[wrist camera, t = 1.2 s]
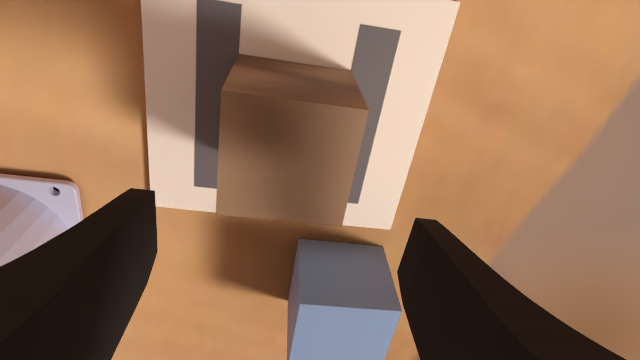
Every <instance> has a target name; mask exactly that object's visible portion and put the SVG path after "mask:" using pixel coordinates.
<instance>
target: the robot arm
mask: <svg viewBox="0 0 640 360" xmlns="http://www.w3.org/2000/svg"><path fill="white" fill-rule="evenodd" d="M53 187H55V188H57V189H59V191H60V192H58V191H56V190H54V189H53ZM156 254H157V227H156V203H155V191H153V190H143V189H134V188H131V189H129V190H127V191H126V192H124V193H122V194H121V195H119V196H118V197H116V198H115V199H113V200H112V201H111V202H109V203H108V204H106V205H105V206H103V207H102V208H100V209H99V210H97V211H96V212H94V213H93V214H91V215H89V216H88V217H86V218H85V219H83V214H82V207H81V200H80V194H79V189H78V187H77V185H76V184H74V183H73V182H71V181H67V180H57V179H48V178H38V177H29V176H19V175H10V174H0V360H111V358H112V356H113V354H114V352H115V350H116V348H117V346H118V344H119V342H120V340H121V338H122V336H123V333H124V331H125V329H126V327H127V325H128V323H129V321H130V319H131V317H132V315H133V313H134V310H135V308H136V306H137V304H138V302H139V300H140V298H141V296H142V294H143V291H144V289H145V287H146V285H147V282H148V279H149V276H150V273H151V270H152V267H153V264H154V261H155V257H156ZM397 273H398V279H399V286H400V292H401V297H402V302H403V306H404V309H405V313H406V316H407V319H408V322H409V326H410V329H411V332H412V335H413V338H414V341H415V344H416V348H417V351H418V354H419V357H420V360H626V359H624V358H622V357H620V356H619V355H617V354H615V353H613V352H611V351H610V350H608V349H606V348H604V347H603V346H601V345H599V344H598V343H596V342H594V341H593V340H591V339H589V338H587V337H586V336H584V335H583V334H581V333H579V332H578V331H576V330H574V329H573V328H571V327H570V326H568V325H567V324H565V323H564V322H562V321H560V320H559V319H557V318H556V317H555V316H553V315H551V314H550V313H549V312H547V311H546V310H544V309H543V308H542V307H540V306H539V305H537V304H536V303H534V302H533V301H532V300H530V299H529V298H528V297H526V296H525V295H524V294H522V293H521V292H520V291H519V290H517V289H516V288H515V287H514V286H512V285H511V284H510V283H509V282H507V281H506V280H505V279H504V278H502V277H501V276H500V275H499V274H497V273H496V272H495V271H494V270H493V269H492V268H490V267H489V266H488V265H487V264H486V263H485V262H484V261H482V260H481V259H480V258H479V257H478V256H477V255H476V254H475V253H473V252H472V251H471V250H470V249H469V248H468V247H467V246H466V245H464V244H463V243H462V242H461V241H460V240H459V239H458V238H457V237H456V236H454V235H453V234H452V233H451V232H450V231H449V230H448V229H446V228H445V227H444V226H443V225H442V224H440V223H439V222H438V221H437V220H431V219H422V218H415V221H414V224H413V227H412V230H411V233H410V236H409V239H408V242H407V245H406V248H405V250H404V253H403V256H402V259H401V262H400V265H399V268H398V271H397Z"/></svg>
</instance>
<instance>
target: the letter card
mask: <svg viewBox="0 0 640 360" xmlns="http://www.w3.org/2000/svg"><path fill="white" fill-rule="evenodd" d="M459 5H460V2H459V1H454V0H141V14H142V35H143V55H144V76H145V96H146V117H147V137H148V157H149V178H150V190H153V191H155V203H156V206H157V207H167V208H177V209H187V210H197V211H207V212H216V195H217V173H218V151H219V129H220V107H221V89H222V87H223V85H224V83H225V81H226V79H227V77H228V75H229V73H230V71H231V69H232V67H233V65H234V62H235V60H236V58H237V56H238V54H244V55H251V56H257V57H264V58H271V59H277V60H284V61H290V62H297V63H304V64H310V65H317V66H324V67H330V68H337V69H344V70H350V71H352V73H353V76H354V78H355V80H356V82H357V84H358V87H359V89H360V91H361V93H362V96H363V98H364V100H365V102H366V104H367V107H368V109H369V113H368V117H367V122H366V126H365V130H364V134H363V139H362V143H361V147H360V151H359V156H358V160H357V164H356V168H355V173H354V177H353V181H352V186H351V190H350V194H349V198H348V203H347V207H346V211H345V215H344V220H343V224H342V225H348V226H358V227H368V228H378V229H388V230H390V229H391V226H392V223H393V220H394V216H395V213H396V210H397V207H398V203H399V200H400V197H401V194H402V190H403V187H404V184H405V181H406V177H407V174H408V171H409V168H410V164H411V161H412V158H413V155H414V151H415V148H416V145H417V142H418V138H419V135H420V132H421V129H422V125H423V122H424V119H425V116H426V113H427V109H428V106H429V103H430V100H431V96H432V93H433V90H434V87H435V83H436V80H437V77H438V74H439V70H440V67H441V64H442V61H443V57H444V54H445V51H446V48H447V44H448V41H449V38H450V35H451V31H452V28H453V25H454V22H455V18H456V15H457V12H458V9H459Z"/></svg>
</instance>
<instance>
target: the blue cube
mask: <svg viewBox="0 0 640 360" xmlns="http://www.w3.org/2000/svg"><path fill="white" fill-rule="evenodd" d="M401 313H402V310H401V306H400V303H399V299H398V296H397V293H396V289H395V286H394V282H393V279H392V276H391V272H390V269H389V265H388V262H387V259H386V255H385V252H384V248H383V246H373V245H363V244H352V243H341V242H331V241H320V240H309V239H299V240H298V246H297V251H296V257H295V263H294V269H293V274H292V280H291V286H290V292H289V298H288V333H287V360H384V359H385V356H386V353H387V351H388V348H389V345H390V343H391V340H392V337H393V335H394V332H395V329H396V326H397V324H398V321H399V318H400V316H401Z"/></svg>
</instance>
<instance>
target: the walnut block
mask: <svg viewBox="0 0 640 360" xmlns="http://www.w3.org/2000/svg"><path fill="white" fill-rule="evenodd" d="M368 113H369V109H368V107H367V104H366V102H365V100H364V98H363V96H362V93H361V91H360V89H359V87H358V84H357V82H356V80H355V78H354V76H353V73H352V71H350V70H344V69H337V68H330V67H324V66H317V65H310V64H304V63H297V62H290V61H284V60H277V59H271V58H264V57H257V56H251V55H244V54H238V56H237V58H236V60H235V62H234V65H233V67H232V69H231V71H230V73H229V75H228V77H227V79H226V81H225V83H224V85H223V87H222V89H221V107H220V129H219V151H218V173H217V195H216V214H217V215H227V216H237V217H248V218H258V219H268V220H278V221H288V222H298V223H308V224H318V225H328V226H339V227H342V224H343V220H344V215H345V211H346V207H347V203H348V198H349V194H350V190H351V186H352V181H353V177H354V173H355V168H356V164H357V160H358V156H359V151H360V147H361V143H362V139H363V134H364V130H365V126H366V122H367V117H368Z"/></svg>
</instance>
